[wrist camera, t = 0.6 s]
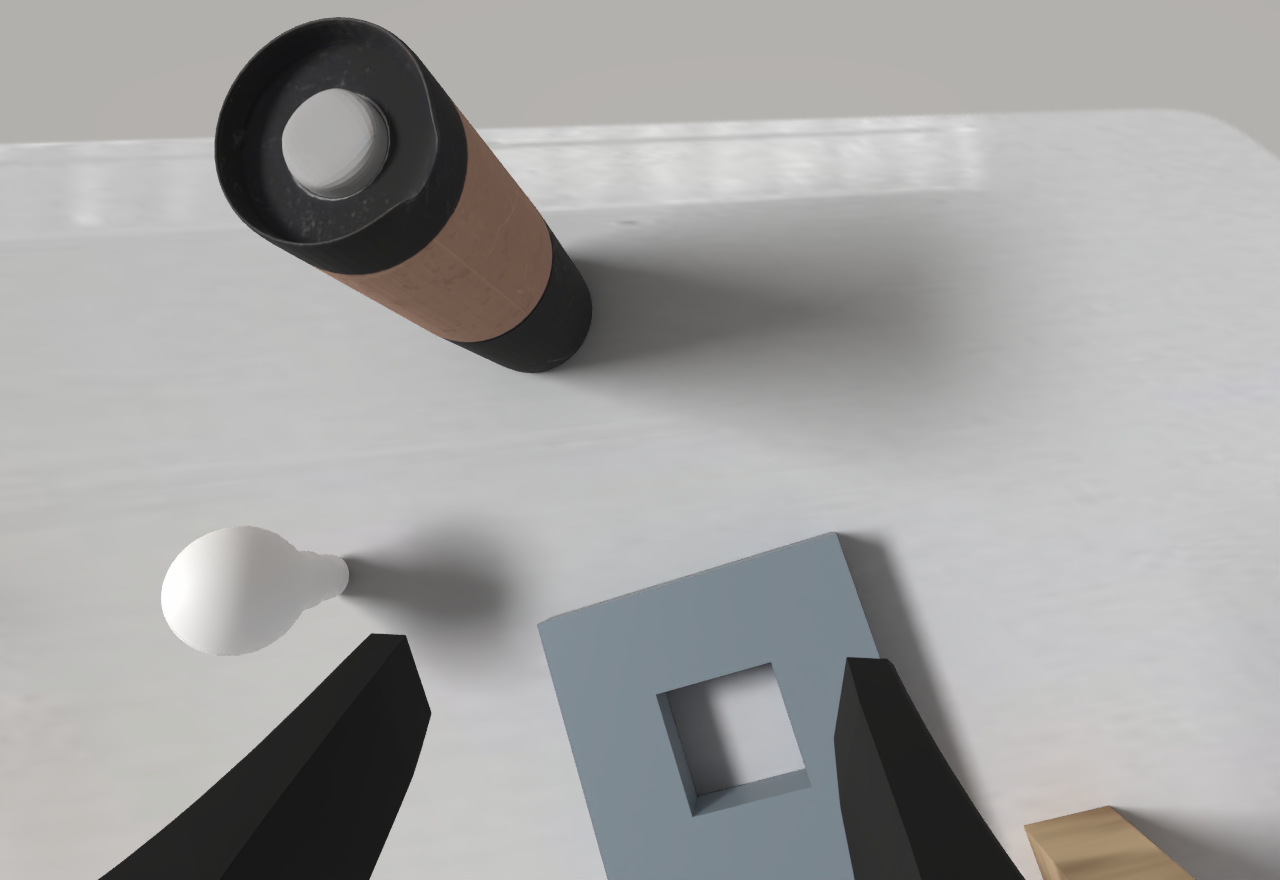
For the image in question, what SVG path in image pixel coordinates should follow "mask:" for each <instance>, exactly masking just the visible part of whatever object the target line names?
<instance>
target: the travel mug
mask: <svg viewBox="0 0 1280 880" xmlns="http://www.w3.org/2000/svg"><path fill="white" fill-rule="evenodd" d="M215 163H216V171H217V175H218V179H219V182H220V185H221V188H222V190H223V193H224V195H225V197H226V199H227V200H228V202H229V204H230V206H231V207H232V209H233V210H234V212H235V213H236V214H237V215H238V216H239V218H240V219H241V220H242V221H243V222H244V223H245V224H246V225H247V226H248V227H250V228H251V229H252V230H253V231H254V232H255V233H257V234H258V235H260V236H261V237H263V238H265V239H266V240H268V241H269V242H271V243H272V244H274V245H276V246H278V247H280V248H281V249H283V250H285V251H287V252H288V253H290V254H292V255H294V256H296V257H297V258H299V259H301V260H303V261H305V262H306V263H308V264H310V265H312V266H314V267H315V268H317V269H319V270H321V271H322V272H324V273H326V274H328V275H330V276H331V277H333V278H335V279H337V280H338V281H340V282H342V283H344V284H346V285H347V286H349V287H351V288H353V289H355V290H356V291H358V292H360V293H362V294H363V295H365V296H367V297H369V298H371V299H372V300H374V301H376V302H378V303H379V304H381V305H383V306H385V307H387V308H388V309H390V310H392V311H394V312H396V313H397V314H399V315H401V316H403V317H404V318H406V319H408V320H410V321H412V322H413V323H415V324H417V325H419V326H420V327H422V328H424V329H426V330H428V331H429V332H431V333H433V334H435V335H437V336H439V337H441V338H444V339H446V340H448V341H450V342H452V343H454V344H456V345H459V346H461V347H463V348H465V349H467V350H469V351H471V352H474V353H476V354H478V355H480V356H482V357H484V358H487V359H489V360H491V361H493V362H495V363H497V364H499V365H502V366H504V367H506V368H509V369H512V370H515V371H519V372H529V373H534V372H541V371H545V370H549V369H552V368H554V367H556V366H558V365H560V364H562V363H563V362H565V361H566V360H568V359H569V358H570V357H571V356H572V355H573V354H574V353H575V352H576V351H577V350H578V349H579V347H580V346H581V344H582V343H583V341H584V339H585V337H586V335H587V333H588V330H589V327H590V323H591V316H592V303H591V297H590V293H589V290H588V288H587V285H586V283H585V281H584V280H583V278H582V276H581V274H580V273H579V271H578V270H577V268H576V267H575V265H574V264H573V262H572V261H571V259H570V258H569V256H568V255H567V253H566V252H565V250H564V249H563V247H562V246H561V244H560V243H559V241H558V240H557V238H556V237H555V235H554V234H553V232H552V231H551V229H550V228H549V226H548V225H547V223H546V222H545V220H544V219H543V217H542V216H541V214H540V213H539V211H538V210H537V209H536V207H535V206H534V205H533V203H532V202H531V201H530V200H529V198H528V197H527V196H526V194H525V193H524V192H523V191H522V189H521V188H520V187H519V186H518V184H517V183H516V182H515V180H514V179H513V178H512V177H511V175H510V174H509V173H508V171H507V170H506V169H505V168H504V166H503V165H502V164H501V162H500V161H499V160H498V159H497V157H496V156H495V155H494V154H493V152H492V151H491V150H490V148H489V147H488V146H487V145H486V143H485V142H484V141H483V139H482V138H481V137H480V136H479V134H478V133H477V132H476V130H475V129H474V128H473V127H472V125H471V124H470V123H469V122H468V120H467V119H466V118H465V116H464V115H463V114H462V113H461V111H460V110H459V109H458V107H457V106H456V105H455V104H454V102H453V101H452V100H451V98H450V97H449V96H448V95H447V93H446V92H445V91H444V89H443V88H442V87H441V86H440V84H439V83H438V82H437V81H436V79H435V78H434V77H433V76H432V74H431V73H430V72H429V70H428V69H427V68H426V66H425V65H424V64H423V63H422V61H421V60H420V59H419V58H418V56H417V55H416V54H415V53H414V52H413V51H412V50H411V49H410V48H409V47H408V46H407V45H406V44H405V43H404V42H403V41H402V40H400V39H399V38H398V37H397V36H395V35H394V34H393V33H391V32H390V31H387V30H386V29H384V28H382V27H380V26H378V25H375V24H373V23H370V22H367V21H364V20H358V19H353V18H341V17H336V18H324V19H319V20H315V21H310V22H307V23H305V24H302V25H299V26H296V27H294V28H292V29H290V30H288V31H286V32H284V33H282V34H281V35H279V36H278V37H276V38H275V39H273V40H272V41H270V42H269V43H268V44H267V45H265V46H264V47H263V48H262V49H260V50H259V51H258V52H257V53H256V54H255V55H254V56H253V57H252V58H251V59H250V60H249V62H248V63H247V64H246V65H245V67H244V68H243V69H242V70H241V72H240V73H239V75H238V76H237V78H236V79H235V81H234V82H233V84H232V86H231V88H230V90H229V92H228V94H227V96H226V98H225V100H224V103H223V106H222V109H221V111H220V114H219V119H218V123H217V128H216V135H215Z"/></svg>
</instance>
